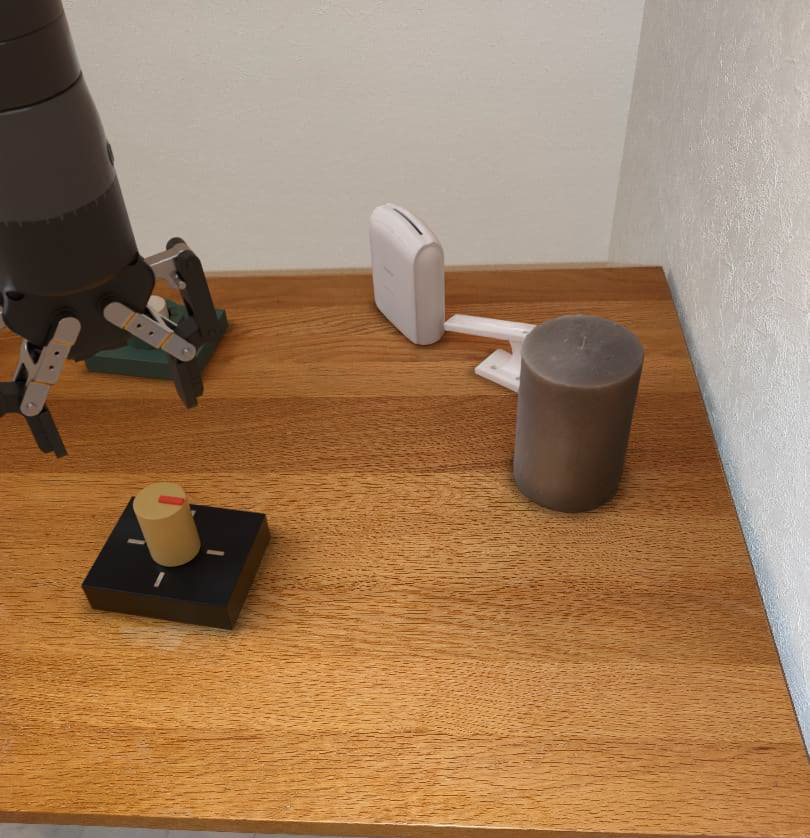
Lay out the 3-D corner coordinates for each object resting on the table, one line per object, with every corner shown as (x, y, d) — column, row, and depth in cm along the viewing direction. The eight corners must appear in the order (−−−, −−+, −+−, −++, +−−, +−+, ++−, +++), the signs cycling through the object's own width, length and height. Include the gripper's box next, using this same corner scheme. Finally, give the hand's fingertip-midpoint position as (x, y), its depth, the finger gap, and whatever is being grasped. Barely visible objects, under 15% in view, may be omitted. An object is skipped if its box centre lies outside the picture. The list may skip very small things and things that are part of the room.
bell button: (128, 328, 92) (124, 313, 90) (142, 308, 94) (138, 293, 93) (161, 331, 91) (157, 316, 90) (174, 311, 93) (170, 296, 92)
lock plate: (91, 608, 72) (79, 584, 70) (140, 519, 78) (131, 494, 76) (232, 630, 70) (225, 606, 68) (271, 537, 76) (265, 511, 74)
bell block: (88, 371, 93) (76, 339, 90) (126, 316, 99) (117, 284, 96) (196, 382, 91) (187, 350, 88) (228, 326, 97) (221, 294, 94)
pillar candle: (637, 502, 78) (669, 362, 66) (529, 522, 77) (543, 382, 65) (598, 430, 84) (621, 291, 73) (498, 447, 83) (506, 309, 72)
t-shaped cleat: (600, 430, 84) (608, 384, 80) (432, 354, 93) (432, 309, 89) (622, 408, 86) (630, 362, 82) (455, 335, 95) (456, 290, 91)
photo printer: (369, 304, 99) (361, 199, 90) (402, 293, 101) (398, 187, 91) (415, 352, 93) (412, 244, 84) (450, 339, 94) (451, 231, 85)
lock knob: (142, 563, 71) (123, 513, 67) (162, 526, 73) (144, 476, 69) (190, 570, 70) (173, 519, 66) (207, 533, 73) (192, 482, 69)
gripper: (148, 115, 49) (207, 357, 61) (-124, 186, 44) (-3, 432, 56) (199, 168, 44) (251, 418, 57) (-98, 252, 40) (28, 504, 52)
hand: (124, 425), depth 57 cm, fingers open, 8 cm apart
